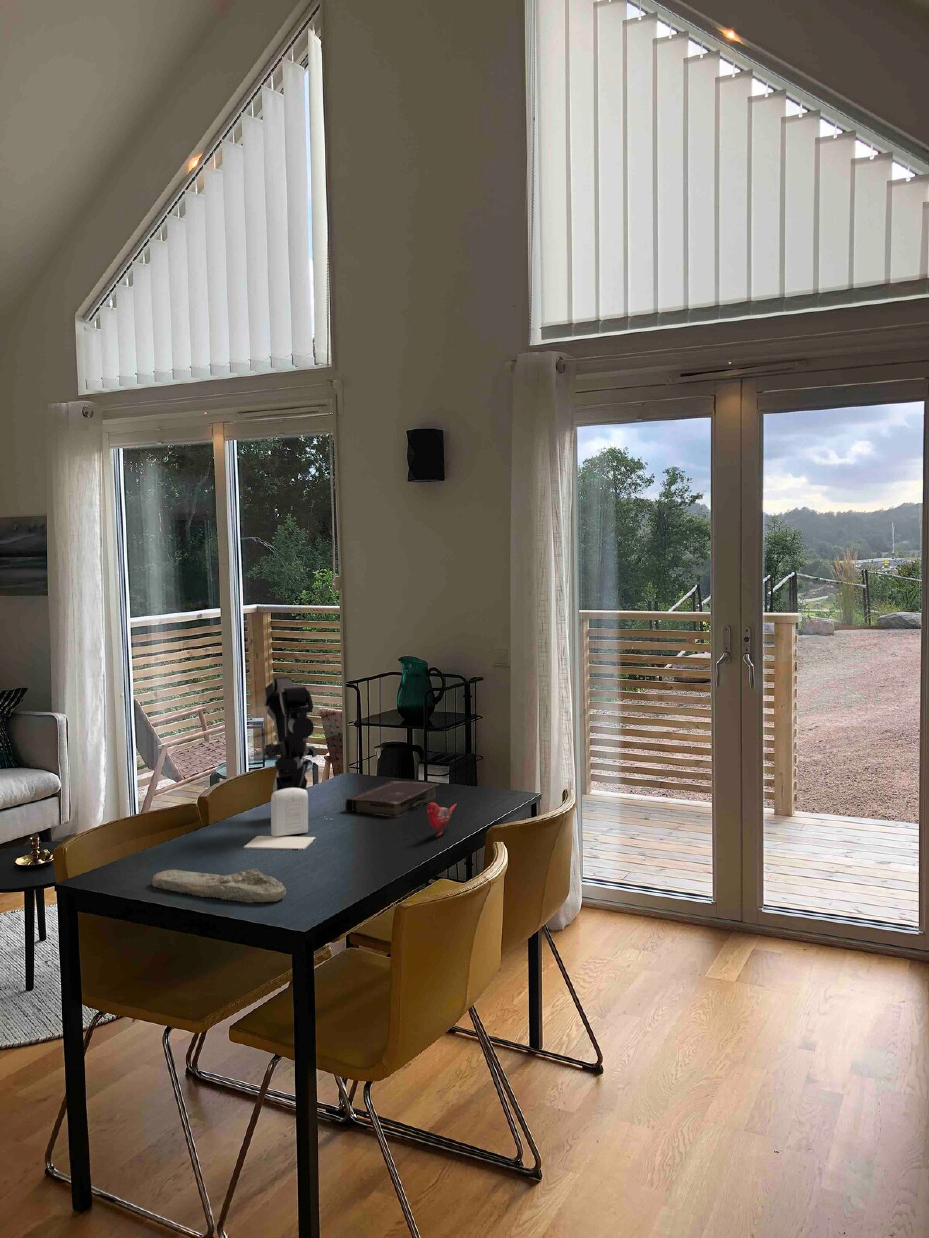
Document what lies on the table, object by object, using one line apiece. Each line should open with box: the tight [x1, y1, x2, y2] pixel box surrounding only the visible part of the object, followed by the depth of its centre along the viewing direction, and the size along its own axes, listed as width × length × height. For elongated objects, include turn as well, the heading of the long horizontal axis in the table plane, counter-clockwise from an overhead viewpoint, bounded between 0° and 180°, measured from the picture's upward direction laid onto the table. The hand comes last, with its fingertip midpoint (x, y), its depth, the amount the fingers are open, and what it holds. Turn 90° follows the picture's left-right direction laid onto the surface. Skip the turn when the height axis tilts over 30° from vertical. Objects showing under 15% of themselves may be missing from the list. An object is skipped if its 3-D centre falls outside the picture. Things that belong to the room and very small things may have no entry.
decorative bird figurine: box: [426, 801, 458, 838], centre depth 268 cm, size 3×18×10 cm, turn 155°
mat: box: [243, 835, 316, 851], centre depth 263 cm, size 10×16×1 cm, turn 81°
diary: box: [344, 780, 440, 818], centre depth 301 cm, size 19×25×5 cm
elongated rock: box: [152, 868, 287, 904], centre depth 226 cm, size 35×5×10 cm
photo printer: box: [270, 788, 309, 837], centre depth 270 cm, size 10×4×12 cm, turn 123°
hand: (297, 788), depth 277 cm, fingers closed
